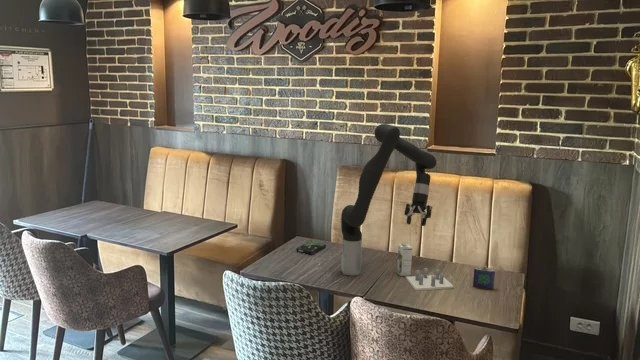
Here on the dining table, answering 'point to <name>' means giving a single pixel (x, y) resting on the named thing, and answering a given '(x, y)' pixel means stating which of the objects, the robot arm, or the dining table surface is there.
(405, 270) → the syrup box
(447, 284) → the dock
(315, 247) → the disk drive
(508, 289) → the dining table surface
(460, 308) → the dining table surface
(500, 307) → the dining table surface
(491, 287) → the flask
